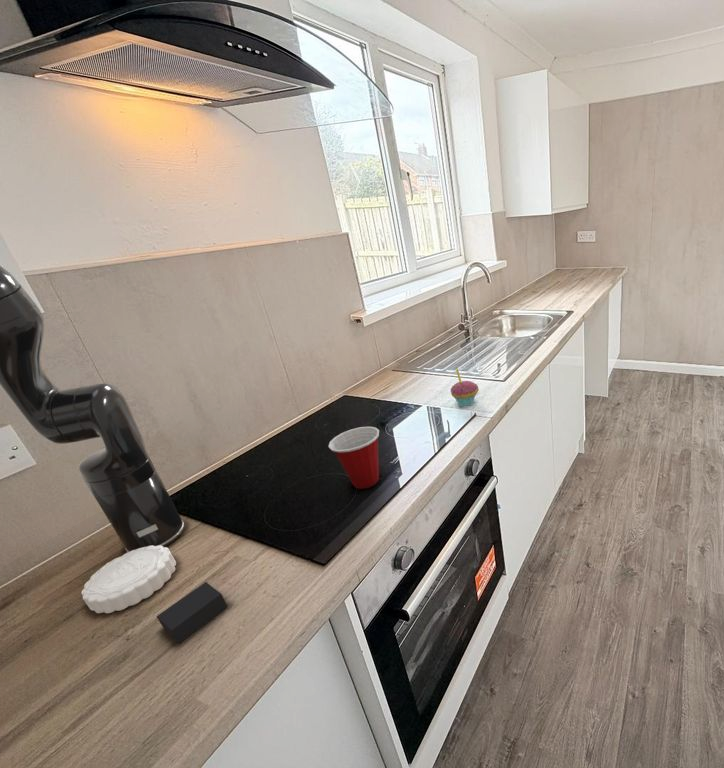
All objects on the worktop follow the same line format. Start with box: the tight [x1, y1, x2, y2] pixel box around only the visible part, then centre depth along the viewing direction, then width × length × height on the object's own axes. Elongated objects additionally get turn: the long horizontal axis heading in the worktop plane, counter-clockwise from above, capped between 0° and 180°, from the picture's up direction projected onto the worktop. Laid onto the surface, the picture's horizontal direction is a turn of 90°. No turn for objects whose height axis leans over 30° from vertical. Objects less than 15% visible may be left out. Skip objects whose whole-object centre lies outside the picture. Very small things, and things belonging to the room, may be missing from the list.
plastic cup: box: [328, 426, 380, 490], centre depth 93 cm, size 11×11×12 cm
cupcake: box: [450, 366, 480, 407], centre depth 126 cm, size 9×8×12 cm
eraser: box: [156, 581, 228, 644], centre depth 65 cm, size 5×7×3 cm
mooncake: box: [81, 545, 177, 614], centre depth 72 cm, size 12×12×4 cm
